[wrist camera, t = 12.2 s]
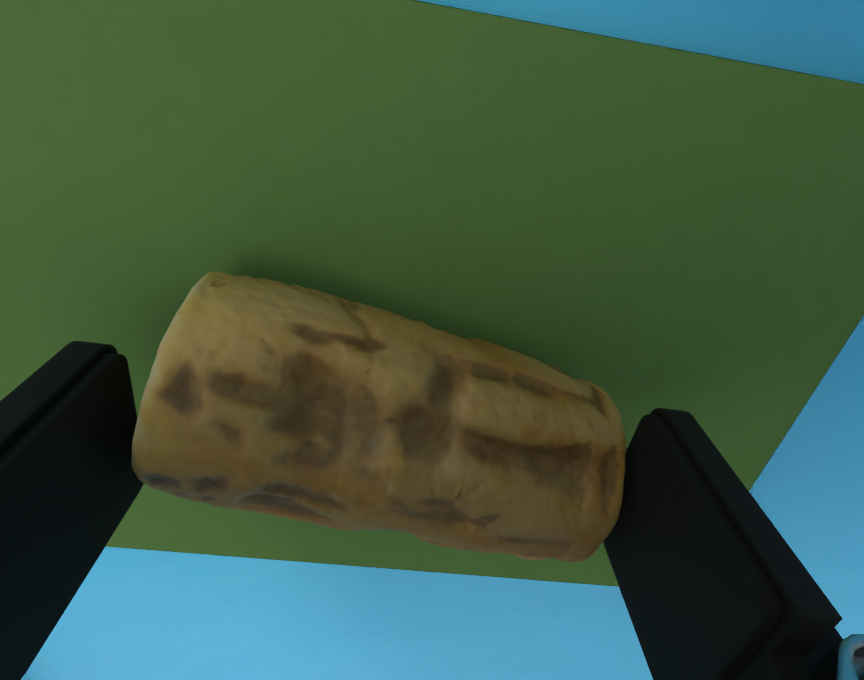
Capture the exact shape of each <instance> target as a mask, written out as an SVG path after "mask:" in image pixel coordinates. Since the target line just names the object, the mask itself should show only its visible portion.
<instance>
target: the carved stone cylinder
mask: <svg viewBox="0 0 864 680" xmlns="http://www.w3.org/2000/svg"><path fill="white" fill-rule="evenodd" d="M625 455H626V435H625V431H624V427H623V423H622V418H621V415H620V412H619V410H618V408H617V406H616V405H615V403H614V402H613V401H612V399H611V398H610V396H609V395H608V394H607V393H606V392H605V390H604V389H602V388H601V387H599V386H598V385H596V384H594V383H592V382H590V381H587V380H584V379H581V378H573V377H570V376H569V375H568V374H567V373H565V372H564V371H562V370H561V369H558V368H556V367H553V366H551V365H547V364H545V363H543V362H541V361H539V360H537V359H534V358H532V357H529V356H526V355H524V354H521V353H519V352H517V351H514V350H510V349H508V348H505V347H502V346H500V345H496V344H493V343H490V342H487V341H484V340H481V339H473V338H462V337H460V336H457V335H454V334H450V333H448V332H447V331H444V330H438V329H435V328H433V327H431V326H429V325H428V324H426V323H424V322H423V321H414V320H410V319H408V318H405V317H402V316H401V315H398V314H395V313H392V312H390V311H388V310H384V309H379V308H376V307H372V306H370V305H364V304H362V303H359V302H350V301H347V300H346V299H343V298H340V297H338V296H334V295H331V294H328V293H325V292H321V291H318V290H315V289H309V288H304V287H301V286H299V285H290V286H288V285H286V284H283V283H282V282H279V281H273V280H269V279H265V278H254V277H250V276H246V275H245V276H235V275H230V274H228V273H225V272H221V271H212V272H209V273H207V274H206V275H205V276H203V277H202V278H201V279H200V280H199V281H198V282H197V283H196V284H195V285H194V286H193V287H192V289H191V290H190V292H189V293H188V295H187V297H186V299H185V301H184V302H183V304H182V305H181V307H180V308H179V310H178V311H177V313H176V315H175V316H174V318H173V320H172V322H171V324H170V326H169V328H168V330H167V332H166V333H165V335H164V337H163V339H162V341H161V343H160V345H159V348H158V351H157V355H156V358H155V361H154V364H153V366H152V369H151V372H150V376H149V379H148V381H147V384H146V387H145V390H144V393H143V396H142V400H141V404H140V409H139V414H138V418H137V422H136V426H135V431H134V436H133V441H132V461H131V464H132V469H133V471H134V472H135V474H136V475H137V477H138V479H139V480H140V481H142V482H143V483H145V484H146V485H148V486H149V487H151V488H154V489H156V490H160V491H163V492H166V493H168V494H171V495H173V496H175V497H181V498H184V499H186V500H192V501H196V502H201V503H208V504H211V505H212V506H214V507H223V508H227V509H240V510H242V511H252V512H255V513H265V514H266V515H275V516H277V517H285V518H288V519H294V520H300V521H303V522H310V523H313V524H317V525H321V526H325V527H331V528H335V529H339V530H345V531H358V530H363V529H364V530H380V529H384V530H395V531H399V532H407V533H410V534H413V535H414V536H415V537H417V538H418V539H421V540H423V541H425V542H428V543H431V544H434V545H437V546H443V547H447V548H455V549H460V550H469V551H478V552H483V553H494V554H498V553H506V554H510V555H515V556H517V557H519V558H524V559H527V560H535V561H539V560H541V559H548V558H555V559H557V560H559V561H562V562H570V563H571V562H582V561H585V560H586V559H588V558H589V557H590V556H591V555H592V554H593V553H594V552H595V551H596V550H597V549H598V548H599V546H600V545H601V543H602V542H603V541H604V540H605V539H606V538H607V536H608V535H609V534H610V532H611V531H612V529H613V527H614V525H615V524H616V522H617V520H618V516H619V512H620V508H621V503H622V499H623V485H624V474H625Z"/></svg>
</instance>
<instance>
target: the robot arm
mask: <svg viewBox="0 0 864 680" xmlns="http://www.w3.org/2000/svg"><path fill="white" fill-rule="evenodd" d="M136 422H137V412H136V406H135V401H134V395H133V389H132V383H131V378H130V372H129V366H128V361H127V358H126V357H125V355H122V354H118V351H117V349H116V348H115V347H114V346H113V345H111V344H103V343H94V342H85V341H72V342H70V343H69V344H67V345H66V346H65V347H64V348H63V349H61V350H60V351H59V352H58V353H57V354H55V355H54V356H53V357H52V358H51V359H50V360H48V361H47V362H46V363H45V364H44V365H42V366H41V367H40V368H39V369H38V370H37V371H35V372H34V373H33V374H32V375H31V376H29V377H28V378H27V379H26V380H25V381H24V382H22V383H21V384H20V385H19V386H18V387H16V388H15V389H14V390H13V391H12V392H11V393H9V394H8V395H7V396H6V397H5V398H3V399H2V400H1V401H0V680H21V678H22V677H23V676H24V674H25V673H26V671H27V670H28V668H29V667H30V665H31V663H32V662H33V660H34V659H35V657H36V656H37V654H38V652H39V651H40V649H41V648H42V646H43V644H44V643H45V641H46V640H47V638H48V636H49V635H50V633H51V632H52V630H53V629H54V627H55V625H56V624H57V622H58V621H59V619H60V617H61V616H62V614H63V613H64V611H65V610H66V608H67V606H68V605H69V603H70V602H71V600H72V598H73V597H74V595H75V594H76V592H77V590H78V589H79V587H80V586H81V584H82V583H83V581H84V579H85V578H86V576H87V575H88V573H89V571H90V570H91V568H92V567H93V565H94V563H95V562H96V560H97V559H98V557H99V556H100V554H101V552H102V551H103V549H104V548H105V546H106V544H107V543H108V541H109V540H110V538H111V536H112V535H113V533H114V532H115V530H116V529H117V527H118V525H119V524H120V522H121V521H122V519H123V517H124V516H125V514H126V513H127V511H128V509H129V508H130V506H131V505H132V503H133V502H134V500H135V498H136V497H137V495H138V494H139V492H140V490H141V488H142V487H143V484H144V483H143V482H142V481H140V480H139V479H138V477H137V475H136V474H135V472H134V471H133V469H132V464H131V461H132V441H133V436H134V431H135V426H136ZM603 544H604V547H605V550H606V552H607V555H608V558H609V560H610V563H611V566H612V569H613V571H614V574H615V577H616V579H617V582H618V585H619V588H620V590H621V593H622V596H623V599H624V601H625V604H626V607H627V609H628V612H629V615H630V618H631V620H632V623H633V626H634V628H635V631H636V634H637V637H638V639H639V642H640V645H641V648H642V650H643V653H644V656H645V658H646V661H647V664H648V667H649V669H650V672H651V675H652V677H653V680H864V634H852V635H850V636H848V637H847V638H845V639H842V637H841V636H840V634H839V633H838V632H837V630H836V629H835V626H836V625H837V624H838V623H839V622H840V621H841V620H842V617H841V616H840V615H839V613H838V612H837V611H836V609H835V608H834V607H833V605H832V604H831V603H830V601H829V600H828V598H827V597H826V596H825V594H824V593H823V592H822V590H821V589H820V588H819V586H818V585H817V584H816V582H815V581H814V579H813V578H812V577H811V575H810V574H809V573H808V571H807V570H806V569H805V567H804V566H803V565H802V563H801V562H800V560H799V559H798V558H797V556H796V555H795V554H794V552H793V551H792V550H791V548H790V547H789V546H788V544H787V543H786V541H785V540H784V539H783V537H782V536H781V535H780V533H779V532H778V531H777V529H776V528H775V527H774V525H773V524H772V522H771V521H770V520H769V518H768V517H767V516H766V514H765V513H764V512H763V510H762V509H761V508H760V506H759V505H758V503H757V502H756V501H755V499H754V498H753V497H752V495H751V494H750V493H749V491H748V490H747V489H746V487H745V486H744V484H743V483H742V482H741V480H740V479H739V478H738V476H737V475H736V474H735V472H734V471H733V470H732V468H731V467H730V465H729V464H728V463H727V461H726V460H725V459H724V457H723V456H722V455H721V453H720V452H719V451H718V449H717V448H716V446H715V445H714V444H713V442H712V441H711V440H710V438H709V437H708V436H707V434H706V433H705V432H704V430H703V429H702V427H701V426H700V425H699V423H698V422H697V421H696V419H695V418H694V417H693V415H692V414H690V413H689V412H687V411H681V410H673V409H664V408H656V409H654V410H653V411H651V413H650V414H647V415H644V416H643V417H642V418H641V420H640V422H639V424H638V426H637V428H636V431H635V433H634V435H633V437H632V439H631V441H630V444H629V446H628V448H627V450H626V455H625V474H624V485H623V499H622V503H621V508H620V512H619V516H618V520H617V522H616V524H615V525H614V527H613V529H612V531H611V532H610V534H609V535H608V536H607V538H606V539H605V540H604V541H603Z"/></svg>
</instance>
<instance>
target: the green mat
mask: <svg viewBox="0 0 864 680" xmlns="http://www.w3.org/2000/svg"><path fill="white" fill-rule="evenodd" d="M212 271H221V272H225V273H228V274H230V275H235V276H245V275H246V276H250V277H254V278H265V279H269V280H273V281H279V282H282V283H283V284H286V285H288V286H290V285H299V286H301V287H304V288H309V289H315V290H318V291H321V292H325V293H328V294H331V295H334V296H338V297H340V298H343V299H346V300H347V301H350V302H359V303H362V304H364V305H370V306H372V307H376V308H379V309H384V310H388V311H390V312H392V313H395V314H398V315H401V316H402V317H405V318H408V319H410V320H414V321H423V322H424V323H426V324H428V325H429V326H431V327H433V328H435V329H438V330H444V331H447V332H448V333H450V334H454V335H457V336H460V337H462V338H473V339H481V340H484V341H487V342H490V343H493V344H496V345H500V346H502V347H505V348H508V349H510V350H514V351H517V352H519V353H521V354H524V355H526V356H529V357H532V358H534V359H537V360H539V361H541V362H543V363H545V364H547V365H551V366H553V367H556V368H558V369H561V370H562V371H564V372H565V373H567V374H568V375H569V376H570V377H573V378H581V379H584V380H587V381H590V382H592V383H594V384H596V385H598V386H599V387H601V388H602V389H604V390H605V392H606V393H607V394H608V395H609V396H610V398H611V399H612V401H613V402H614V403H615V405H616V406H617V408H618V410H619V412H620V415H621V418H622V423H623V427H624V431H625V435H626V450H627V448H628V446H629V444H630V441H631V439H632V437H633V435H634V433H635V431H636V428H637V426H638V424H639V422H640V420H641V418H642V417H643V416H644V415H647V414H650V413H651V411H653V410H654V409H656V408H664V409H673V410H681V411H687V412H689V413H690V414H692V415H693V417H694V418H695V419H696V421H697V422H698V423H699V425H700V426H701V427H702V429H703V430H704V432H705V433H706V434H707V436H708V437H709V438H710V440H711V441H712V442H713V444H714V445H715V446H716V448H717V449H718V451H719V452H720V453H721V455H722V456H723V457H724V459H725V460H726V461H727V463H728V464H729V465H730V467H731V468H732V470H733V471H734V472H735V474H736V475H737V476H738V478H739V479H740V480H741V482H742V483H743V484H744V486H745V487H746V489H747V490H748V491H749V490H750V489H751V487H752V486H753V484H754V483H755V481H756V480H757V478H758V477H759V475H760V474H761V472H762V470H763V469H764V467H765V466H766V464H767V463H768V461H769V460H770V458H771V457H772V455H773V454H774V452H775V451H776V449H777V447H778V446H779V444H780V443H781V441H782V440H783V438H784V437H785V435H786V434H787V432H788V431H789V429H790V428H791V426H792V424H793V423H794V421H795V420H796V418H797V417H798V415H799V414H800V412H801V411H802V409H803V408H804V406H805V405H806V403H807V401H808V400H809V398H810V397H811V395H812V394H813V392H814V391H815V389H816V388H817V386H818V385H819V383H820V382H821V380H822V378H823V377H824V375H825V374H826V372H827V371H828V369H829V368H830V366H831V365H832V363H833V362H834V360H835V359H836V357H837V355H838V354H839V352H840V351H841V349H842V348H843V346H844V345H845V343H846V342H847V340H848V339H849V337H850V335H851V334H852V332H853V331H854V329H855V328H856V326H857V325H858V323H859V322H860V320H861V319H862V317H863V316H864V84H860V83H855V82H850V81H844V80H839V79H833V78H828V77H823V76H817V75H812V74H807V73H801V72H796V71H791V70H785V69H780V68H775V67H769V66H764V65H759V64H753V63H748V62H742V61H737V60H732V59H726V58H721V57H716V56H710V55H705V54H700V53H694V52H689V51H684V50H678V49H673V48H668V47H662V46H657V45H651V44H646V43H641V42H635V41H630V40H625V39H619V38H614V37H609V36H603V35H598V34H593V33H587V32H582V31H577V30H571V29H566V28H560V27H555V26H550V25H544V24H539V23H534V22H528V21H523V20H518V19H512V18H507V17H502V16H496V15H491V14H486V13H480V12H475V11H469V10H464V9H459V8H453V7H448V6H443V5H437V4H432V3H427V2H421V1H416V0H0V401H1V400H2V399H3V398H5V397H6V396H7V395H8V394H9V393H11V392H12V391H13V390H14V389H15V388H16V387H18V386H19V385H20V384H21V383H22V382H24V381H25V380H26V379H27V378H28V377H29V376H31V375H32V374H33V373H34V372H35V371H37V370H38V369H39V368H40V367H41V366H42V365H44V364H45V363H46V362H47V361H48V360H50V359H51V358H52V357H53V356H54V355H55V354H57V353H58V352H59V351H60V350H61V349H63V348H64V347H65V346H66V345H67V344H69V343H70V342H72V341H85V342H94V343H103V344H111V345H113V346H114V347H115V348H116V349H117V351H118V354H122V355H125V357H126V358H127V361H128V366H129V372H130V378H131V383H132V389H133V395H134V401H135V406H136V412H137V418H138V414H139V409H140V404H141V400H142V396H143V393H144V390H145V387H146V384H147V381H148V379H149V376H150V372H151V369H152V366H153V364H154V361H155V358H156V355H157V351H158V348H159V345H160V343H161V341H162V339H163V337H164V335H165V333H166V332H167V330H168V328H169V326H170V324H171V322H172V320H173V318H174V316H175V315H176V313H177V311H178V310H179V308H180V307H181V305H182V304H183V302H184V301H185V299H186V297H187V295H188V293H189V292H190V290H191V289H192V287H193V286H194V285H195V284H196V283H197V282H198V281H199V280H200V279H201V278H202V277H203V276H205V275H206V274H207V273H209V272H212ZM106 546H108V547H120V548H133V549H146V550H159V551H172V552H184V553H197V554H210V555H223V556H236V557H248V558H261V559H274V560H287V561H300V562H312V563H325V564H338V565H351V566H364V567H376V568H389V569H402V570H415V571H428V572H440V573H453V574H466V575H479V576H492V577H504V578H517V579H530V580H543V581H556V582H568V583H581V584H594V585H607V586H619V585H618V582H617V579H616V577H615V574H614V571H613V569H612V566H611V563H610V560H609V558H608V555H607V552H606V550H605V547H604V544H603V542H602V543H601V545H600V546H599V548H598V549H597V550H596V551H595V552H594V553H593V554H592V555H591V556H590V557H589V558H588V559H586V560H585V561H582V562H571V563H570V562H562V561H559V560H557V559H555V558H548V559H541V560H539V561H535V560H527V559H524V558H519V557H517V556H515V555H510V554H506V553H498V554H494V553H483V552H478V551H469V550H460V549H455V548H447V547H443V546H437V545H434V544H431V543H428V542H425V541H423V540H421V539H418V538H417V537H415V536H414V535H413V534H410V533H407V532H399V531H395V530H384V529H380V530H364V529H363V530H358V531H345V530H339V529H335V528H331V527H325V526H321V525H317V524H313V523H310V522H303V521H300V520H294V519H288V518H285V517H277V516H275V515H266V514H265V513H255V512H252V511H242V510H240V509H227V508H223V507H214V506H212V505H211V504H208V503H201V502H196V501H192V500H186V499H184V498H181V497H175V496H173V495H171V494H168V493H166V492H163V491H160V490H156V489H154V488H151V487H149V486H148V485H146V484H145V483H144V484H143V487H142V488H141V490H140V492H139V494H138V495H137V497H136V498H135V500H134V502H133V503H132V505H131V506H130V508H129V509H128V511H127V513H126V514H125V516H124V517H123V519H122V521H121V522H120V524H119V525H118V527H117V529H116V530H115V532H114V533H113V535H112V536H111V538H110V540H109V541H108V543H107V544H106Z"/></svg>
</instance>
